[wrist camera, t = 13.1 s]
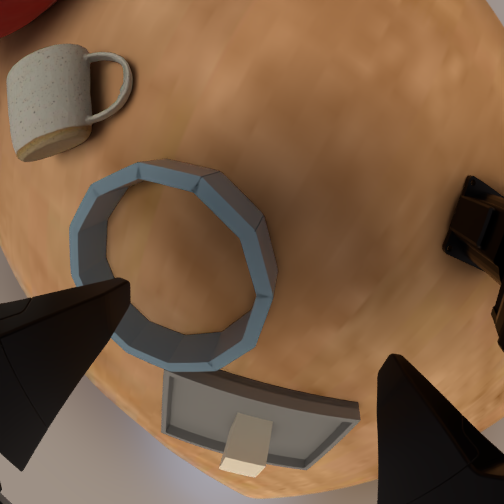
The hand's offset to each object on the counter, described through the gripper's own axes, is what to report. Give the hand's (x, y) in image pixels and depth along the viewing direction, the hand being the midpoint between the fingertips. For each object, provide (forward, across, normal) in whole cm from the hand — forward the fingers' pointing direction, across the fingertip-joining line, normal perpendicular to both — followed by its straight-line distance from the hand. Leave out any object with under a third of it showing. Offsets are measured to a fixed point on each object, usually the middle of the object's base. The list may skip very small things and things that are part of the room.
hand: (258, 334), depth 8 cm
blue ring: (+12, +8, +5) cm, 15 cm away
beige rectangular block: (+11, -3, +22) cm, 25 cm away
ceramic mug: (+12, +19, -8) cm, 24 cm away
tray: (+12, -3, +22) cm, 26 cm away
